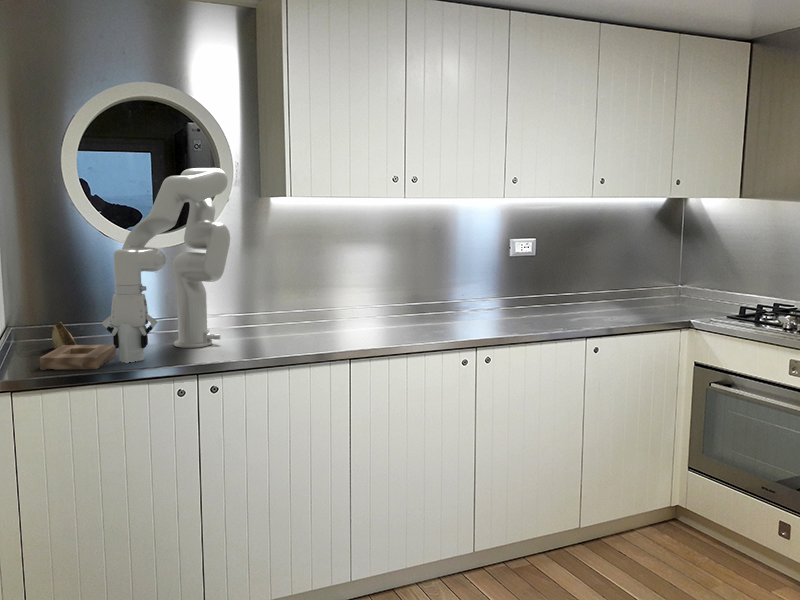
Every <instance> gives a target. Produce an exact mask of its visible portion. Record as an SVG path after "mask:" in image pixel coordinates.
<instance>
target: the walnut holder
mask: <svg viewBox="0 0 800 600" xmlns="http://www.w3.org/2000/svg"><path fill="white" fill-rule="evenodd" d="M114 356H115V357H117V351H116V348H115V345H114V344H77V345H62V346H61V347H59V348H57V349H56V348H54V349H53V350H52V351H50V352H48V353H46V354H44V355H42V356H41V357H39V367H40V368H39V369H40V371H41V370H42V371H43V370H44V371H45V370H46V369H54V370H98V369H99V368H101V367H102V366H104V365H105V364H106V363H108V362H109V361H111V360H112V359H113V358H114ZM107 361H108V362H107ZM104 363H105V364H104ZM103 364H104V365H103ZM100 366H101V367H100Z"/></svg>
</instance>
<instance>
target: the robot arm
mask: <svg viewBox="0 0 800 600" xmlns="http://www.w3.org/2000/svg"><path fill="white" fill-rule="evenodd" d="M228 182H229V181H228V175H227V174H226V172H225V171H224V170H222V169H221V168H219V167H218V168H217V167H195V168H194V167H192V168H187V169H185V170H183V171H182V172H181V173H180V175H170V176H167V177H166V178H165V179H164V180H163V181H162V184H161V185H160V189H159V190H158V193H157V195H156V198H155V200H154V203H153V205H152V207H151V209H150V211H149V214H148V215H147V216H146V217H144V218H143V219H141V221H140V222H138V223H137V224H136V225H135V226H134V227H133V228H132V229H131V230H130V232H129V233H128V234H127V236H126V239H125V240H124V243H123V245H122V248H121V249H116V250H115V251H114V252H113V273H114V294H113V295H112V301H111V311H110V315H109V316H108V317H107V318H105V319H104V320H103V321H102V322H101V325H102V326H103V327H105V328H106V330H107V331H108V333H110V334H111V336H112V341H113V345H115V348H116V349H118V350H119V343H118V329H119V327H120V325H121V324H130V326H131V327H139V329H140V331H141V332H142V336H141V348H143V349H145V348H146V347H147V345H148V344H149V340H148V334H149V333H150V332H151V331H152V330H153V329H154V328H155V327H156V325H157V324H158V321H157V320H156V319H155V318H153V317H152V316H151V315H149V310H148V304H147V299H146V297H147V296H146V295H145V293H143V292H144V291H147V286H145V285H143V283H142V272H149V273H151V272H152V273H153V272H154V273H155V272H158V271H160V270H162V269H163V268H164V267H165V265H166V261H167V258H166V255H165V253H164V251H162V250H161V249H159V248H157V247H151V246H150V247H149V246H146V245H147V244H148V242H150V241H151V240H152V239H153V238H154V237H156V236H158V235H160V234H162V233H164V232H168V231H169V230H171V229H172V228H173V227H175V226H176V224H177V221H178V219H179V217H180V214H181V212H182V209H183V207H184V204H185V203H189V211H188V216H187V221H186V226H185V229H184V237H183V241H184V244H185V246H186V247H188V248H189V249H193V250H198V251H199V250H201V251H205V252H197V251H185V252H181V253H179V254H177V255H176V256H175V258H174V259H173V263H172V271H173V274H174V275H173V276H174V280H175V284H176V297H177V298H176V300H177V301H176V302H177V328H178V330H177V331H178V339H176V340H175V341H174V342H173V345H174V346H175V347H177V348H184V349H191V348H193V349H194V348H195V349H196V348H205V347H208V346H211V345H213V340H214V341H215V340H217V341H218V340H221V334H220V333H216V332H215V333H211V332H210V329H208V306H207V305H208V304H207V290H206V288H205V285H204V283H203V282H207V283H210V282H211V283H213V282H218V281H219V280H220V279H221V278H222V277H223V275H224V272H225V268H226V264H227V258H228V255H229V250H230V244H231V235H230V233H231V232H230V231H229V228H228V226H227V225H225V224H224V223H222V222H218V221H215V215H216V206H215V203H214V201H213V200H212V198H213V197H215V196H219V195H220V194H222V193H223V192H225V190H226V189H227V187H228ZM145 246H146V247H145ZM110 323H111V324H110ZM149 323H150V325H148V324H149ZM146 325H148V327H147V326H146Z"/></svg>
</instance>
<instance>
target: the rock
mask: <svg viewBox="0 0 800 600" xmlns="http://www.w3.org/2000/svg"><path fill="white" fill-rule="evenodd" d="M51 340H52V341H51V343H52V346H53V348H54V349H57V348H59V347H61V346H62V345H78V344H77V342H76V341H75V340H74V337H73V335H72V334H71V332H69V331H68V329H67V328H66V327H65V326H64V324H63V323H62V321H59V322H58V323H56V324H54V326H53V329H52V333H51Z"/></svg>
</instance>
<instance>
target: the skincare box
mask: <svg viewBox="0 0 800 600" xmlns="http://www.w3.org/2000/svg"><path fill="white" fill-rule="evenodd" d="M141 336H142V332H141V331H140V329H139V327H131V326H130V324H121V325H120V327H119V329H118V343H119V348H118V354H119V356H118V357H119V362H120V361H122V362H121V363H123V362H125V363H124V364H130V363H129V362H131V363H136V362H141V361H144V360H145V356H144V355H145V354H144V353H145V351H144V348H141ZM135 361H136V362H135Z"/></svg>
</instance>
